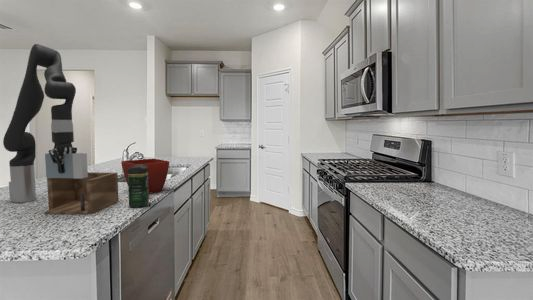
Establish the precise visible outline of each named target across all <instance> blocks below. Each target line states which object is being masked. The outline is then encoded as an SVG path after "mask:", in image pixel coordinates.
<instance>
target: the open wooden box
mask: <svg viewBox="0 0 533 300" xmlns="http://www.w3.org/2000/svg"><path fill="white" fill-rule="evenodd" d="M118 180H119V179H118V172H100V171H99V172H94V171H93V172H92V171H91V172H88V177H86V178H82V179H80V178H46V184H47V186H46V187H47V200H48V201H47V202H48V210H46V211H44V212H43V215H45V214H46V215H88V214H89V215H93V214H96V213H97V212H100V211H102V210H104V209H107V208H108V207H111V206H112V205H115V204H117V203H118V202H119V184H118V183H119V181H118Z"/></svg>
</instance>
